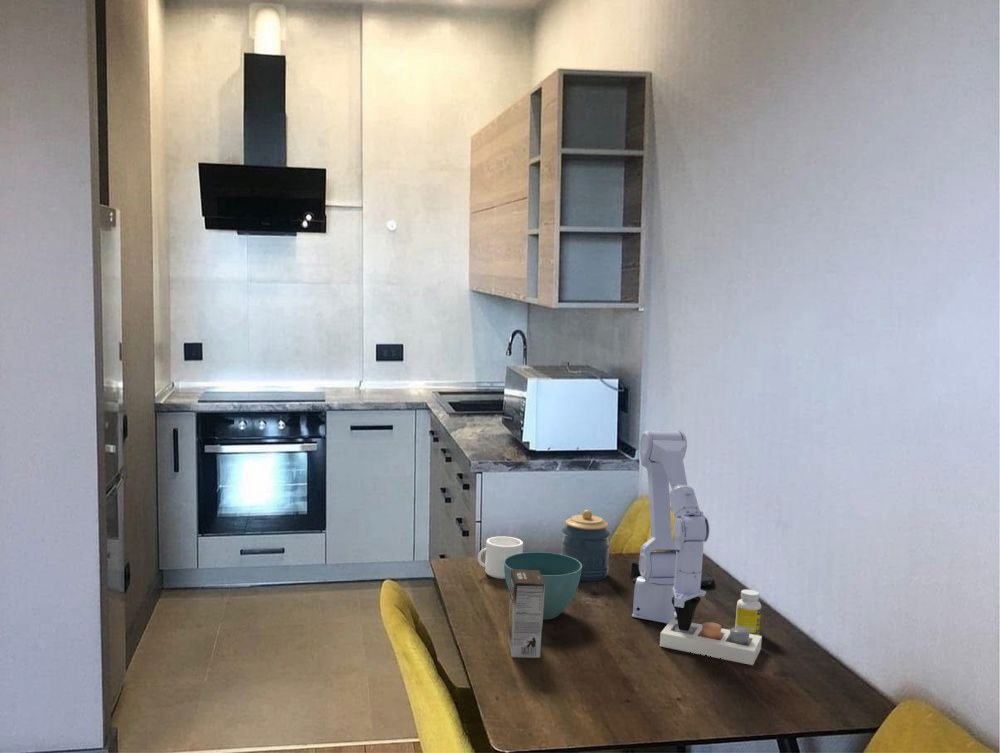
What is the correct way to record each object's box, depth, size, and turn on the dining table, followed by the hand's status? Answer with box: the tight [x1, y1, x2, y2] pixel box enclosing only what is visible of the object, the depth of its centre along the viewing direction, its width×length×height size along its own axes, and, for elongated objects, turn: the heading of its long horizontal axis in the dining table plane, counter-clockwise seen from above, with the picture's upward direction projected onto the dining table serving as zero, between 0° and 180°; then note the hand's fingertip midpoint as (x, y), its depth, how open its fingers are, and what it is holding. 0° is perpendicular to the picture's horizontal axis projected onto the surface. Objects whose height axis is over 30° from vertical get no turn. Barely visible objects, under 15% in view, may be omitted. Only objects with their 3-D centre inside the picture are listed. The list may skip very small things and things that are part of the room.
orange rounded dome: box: [702, 621, 722, 640], centre depth 210 cm, size 4×4×3 cm
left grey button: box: [675, 626, 693, 635], centre depth 212 cm, size 4×4×3 cm
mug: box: [477, 536, 524, 580], centre depth 253 cm, size 12×10×9 cm
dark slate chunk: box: [629, 561, 714, 587], centre depth 258 cm, size 15×22×5 cm
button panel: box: [659, 618, 763, 666], centre depth 210 cm, size 20×10×3 cm, turn 66°
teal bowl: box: [504, 551, 582, 621], centre depth 225 cm, size 18×18×12 cm
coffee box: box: [507, 569, 545, 659], centre depth 203 cm, size 9×6×16 cm
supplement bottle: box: [734, 589, 762, 636], centre depth 219 cm, size 5×5×10 cm
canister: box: [560, 509, 612, 582], centre depth 256 cm, size 13×13×18 cm
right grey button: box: [729, 627, 749, 646], centre depth 207 cm, size 4×4×3 cm
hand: (684, 629), depth 212 cm, fingers closed, pressing on left grey button
